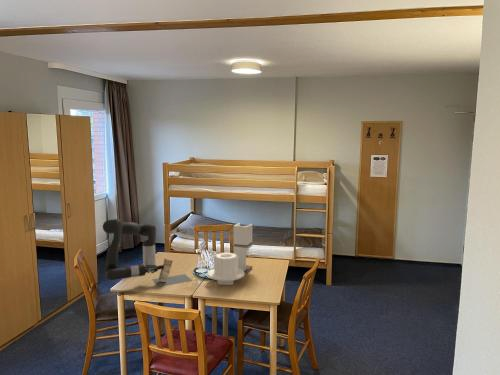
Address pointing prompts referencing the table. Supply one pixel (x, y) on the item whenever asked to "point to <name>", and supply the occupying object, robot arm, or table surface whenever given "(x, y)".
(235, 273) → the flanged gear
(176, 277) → the rubber mat
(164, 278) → the birch block
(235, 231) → the grey notched tower
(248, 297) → the table surface
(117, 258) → the robot arm
